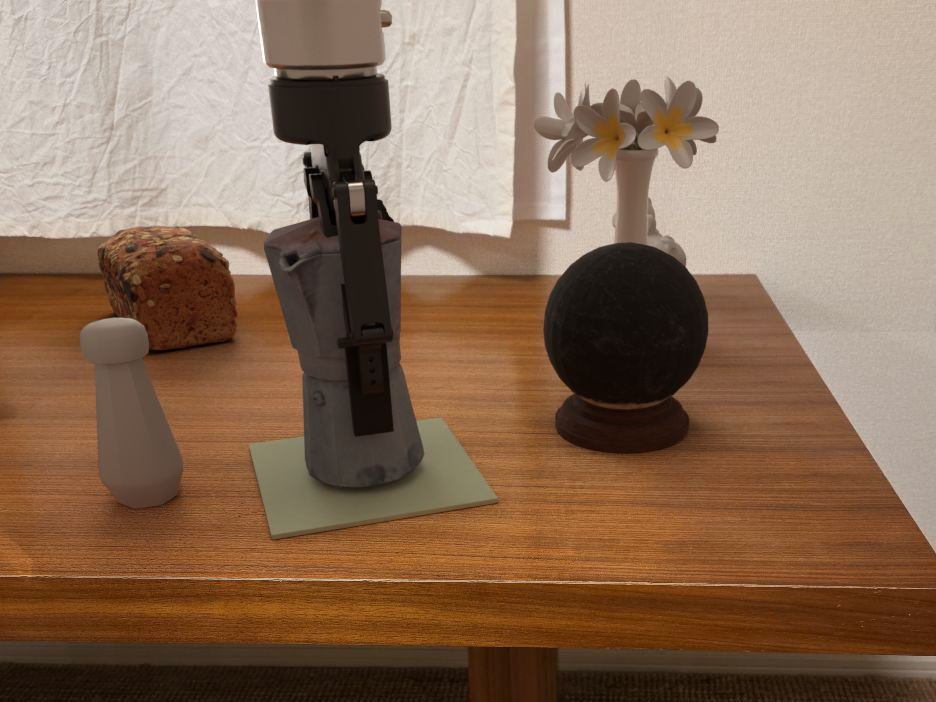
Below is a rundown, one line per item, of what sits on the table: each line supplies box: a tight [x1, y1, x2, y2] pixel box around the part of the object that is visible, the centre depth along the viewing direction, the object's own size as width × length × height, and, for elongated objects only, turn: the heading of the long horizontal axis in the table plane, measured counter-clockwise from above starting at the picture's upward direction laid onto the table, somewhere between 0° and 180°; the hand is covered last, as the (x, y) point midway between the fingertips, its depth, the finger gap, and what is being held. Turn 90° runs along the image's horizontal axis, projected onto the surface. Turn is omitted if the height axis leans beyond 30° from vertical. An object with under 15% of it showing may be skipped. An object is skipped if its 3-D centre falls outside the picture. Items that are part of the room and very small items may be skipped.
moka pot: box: [263, 198, 424, 487], centre depth 72 cm, size 10×15×20 cm, turn 166°
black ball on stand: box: [542, 242, 710, 454], centre depth 81 cm, size 13×13×15 cm
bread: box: [97, 225, 238, 351], centre depth 107 cm, size 19×11×10 cm, turn 30°
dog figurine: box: [611, 196, 687, 268], centre depth 116 cm, size 5×13×11 cm, turn 23°
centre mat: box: [248, 417, 499, 541], centre depth 77 cm, size 16×16×1 cm
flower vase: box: [533, 76, 720, 245], centre depth 97 cm, size 13×18×25 cm
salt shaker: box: [79, 317, 184, 510], centre depth 71 cm, size 6×6×13 cm
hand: (360, 407), depth 74 cm, fingers closed on moka pot, 9 cm apart
